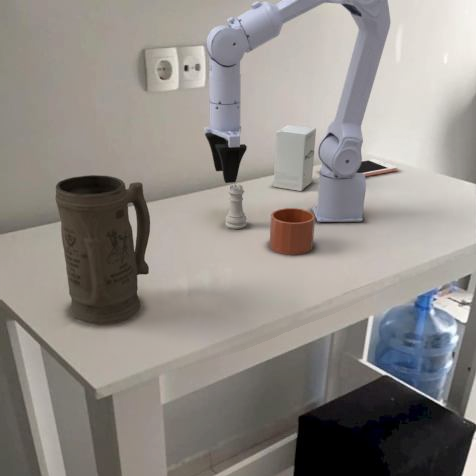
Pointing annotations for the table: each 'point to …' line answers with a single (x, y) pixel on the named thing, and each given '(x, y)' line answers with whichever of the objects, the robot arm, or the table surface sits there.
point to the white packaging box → (294, 157)
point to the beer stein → (102, 246)
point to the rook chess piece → (236, 208)
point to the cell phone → (375, 167)
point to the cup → (292, 231)
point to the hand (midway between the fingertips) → (225, 176)
